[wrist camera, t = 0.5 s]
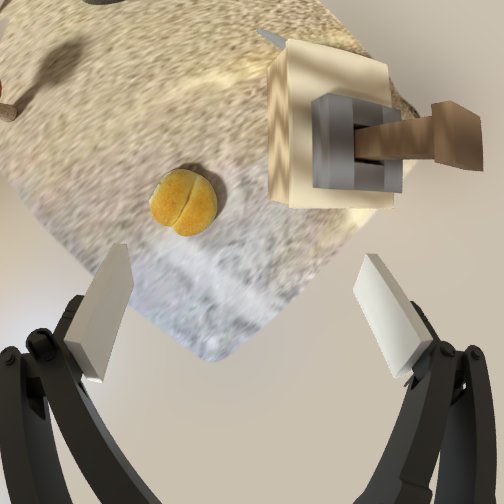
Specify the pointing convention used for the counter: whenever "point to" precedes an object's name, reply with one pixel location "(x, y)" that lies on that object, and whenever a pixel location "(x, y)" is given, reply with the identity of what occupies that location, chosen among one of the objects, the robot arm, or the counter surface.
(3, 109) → the mushroom
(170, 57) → the counter surface
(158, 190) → the bread roll
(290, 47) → the tan two-tone block
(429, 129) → the brown t-shaped block
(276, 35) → the chef's knife
